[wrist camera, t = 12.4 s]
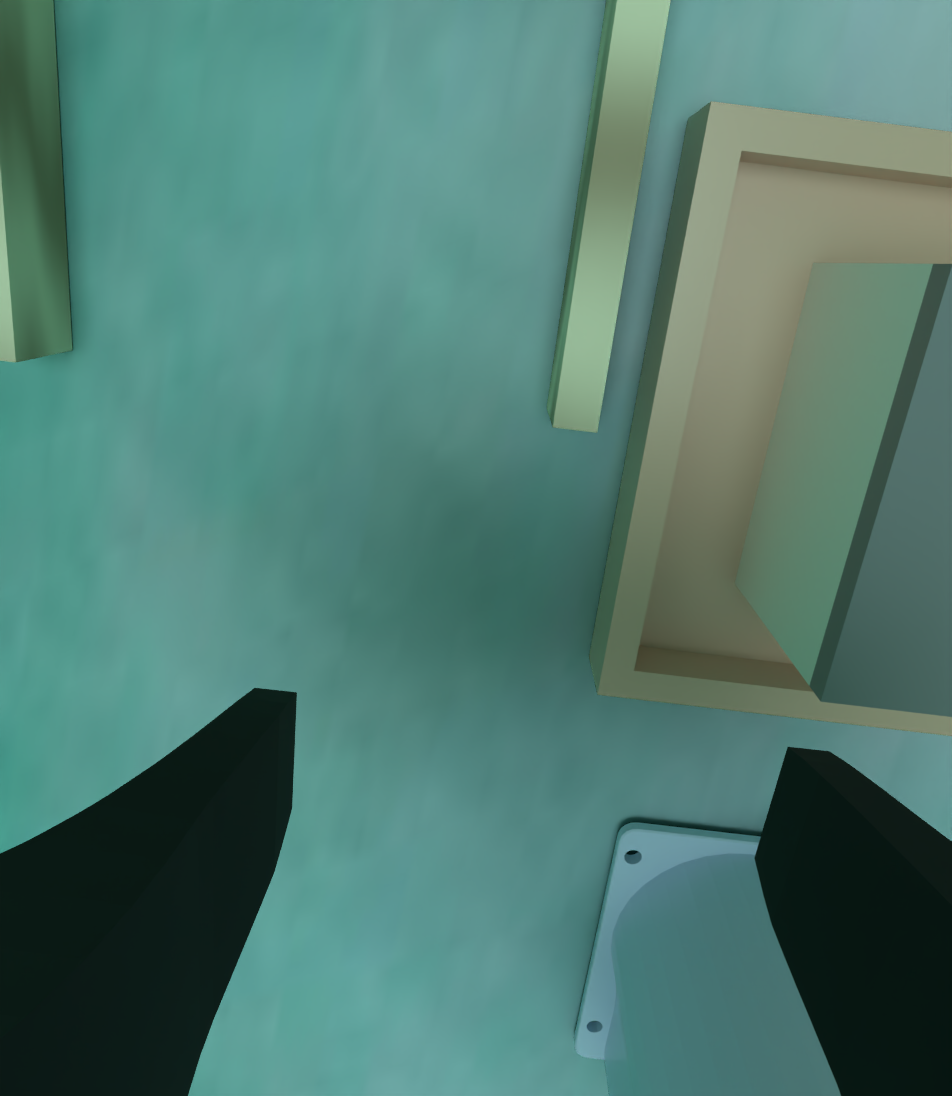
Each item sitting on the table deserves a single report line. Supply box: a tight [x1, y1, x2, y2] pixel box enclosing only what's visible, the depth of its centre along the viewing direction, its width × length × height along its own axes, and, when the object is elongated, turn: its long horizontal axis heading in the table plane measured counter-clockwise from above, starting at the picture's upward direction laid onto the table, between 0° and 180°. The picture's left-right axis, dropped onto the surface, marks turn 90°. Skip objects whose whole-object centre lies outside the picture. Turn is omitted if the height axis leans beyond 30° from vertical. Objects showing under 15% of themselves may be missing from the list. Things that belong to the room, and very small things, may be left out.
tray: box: [589, 101, 952, 736], centre depth 19 cm, size 14×12×2 cm
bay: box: [0, 0, 671, 433], centre depth 17 cm, size 11×14×2 cm
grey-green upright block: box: [735, 263, 952, 717], centre depth 17 cm, size 8×5×6 cm, turn 173°
